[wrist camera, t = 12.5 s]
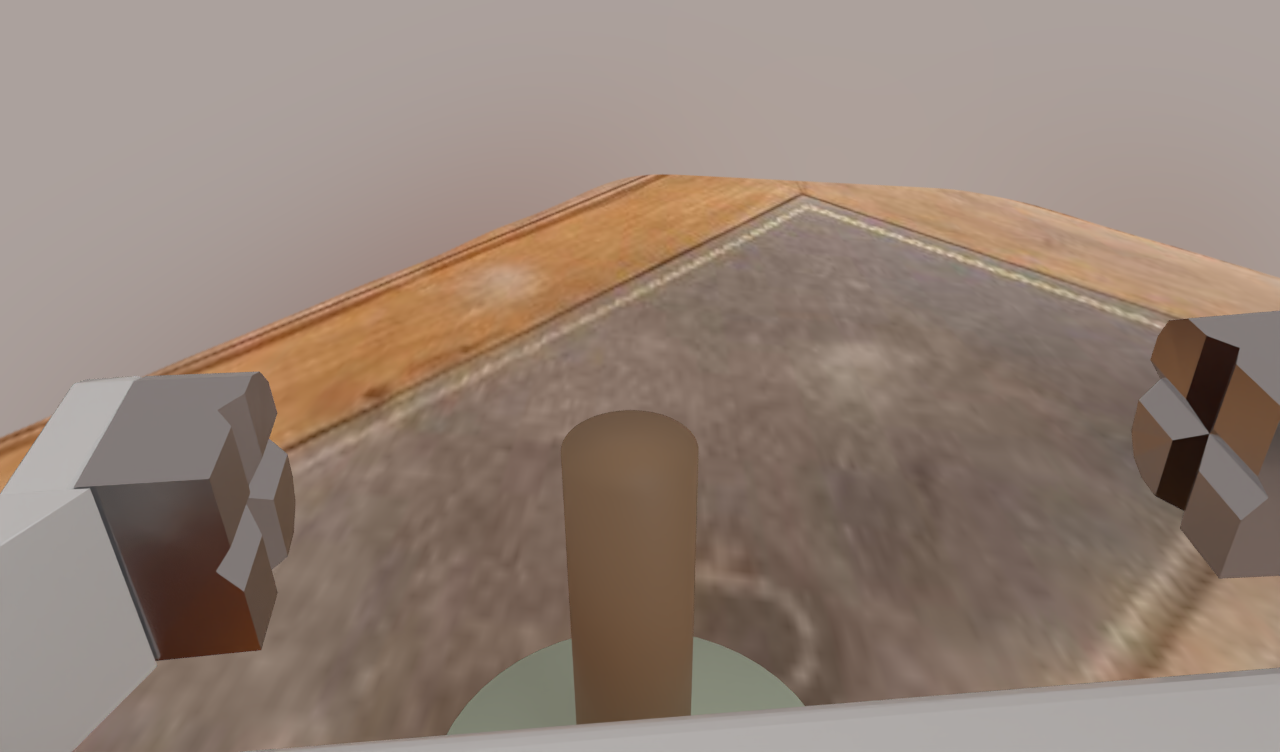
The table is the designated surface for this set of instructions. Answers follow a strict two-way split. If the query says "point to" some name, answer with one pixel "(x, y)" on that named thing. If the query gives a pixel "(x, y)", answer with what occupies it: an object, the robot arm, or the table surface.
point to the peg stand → (626, 595)
